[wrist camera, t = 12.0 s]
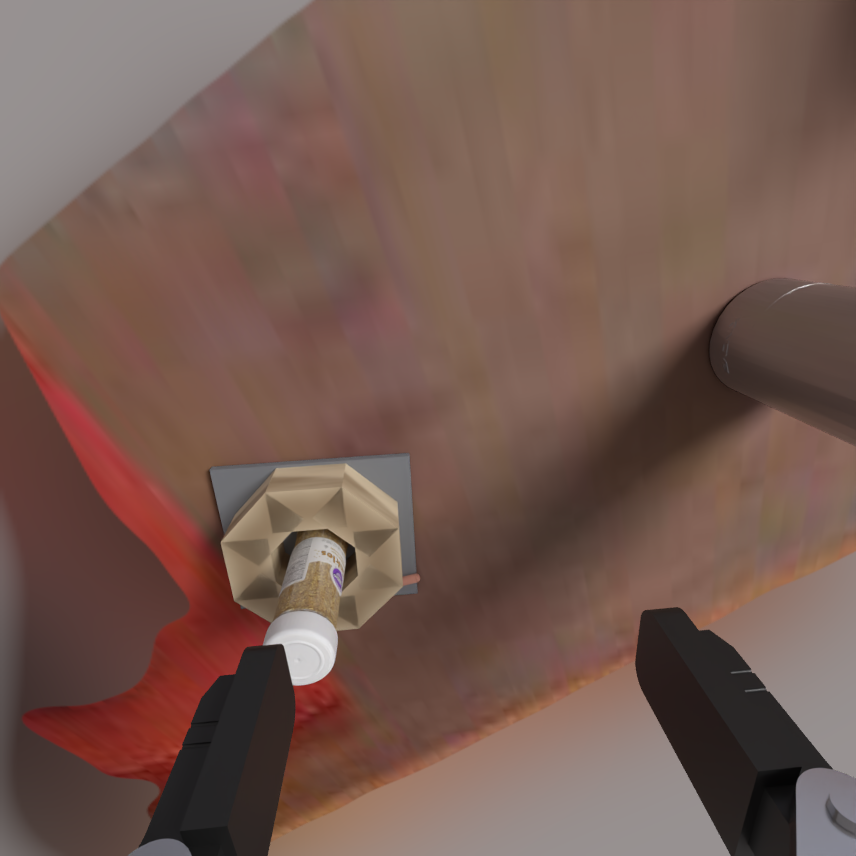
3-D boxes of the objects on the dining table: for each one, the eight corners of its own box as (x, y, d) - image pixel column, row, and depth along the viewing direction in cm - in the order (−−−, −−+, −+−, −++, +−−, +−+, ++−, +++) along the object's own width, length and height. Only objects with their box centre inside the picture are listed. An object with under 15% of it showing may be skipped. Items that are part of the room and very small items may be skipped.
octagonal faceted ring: (394, 459, 41) (395, 482, 37) (403, 592, 46) (405, 624, 42) (225, 471, 40) (209, 496, 36) (254, 605, 45) (243, 639, 41)
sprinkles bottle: (360, 539, 43) (350, 665, 31) (319, 565, 44) (293, 699, 32) (327, 502, 42) (302, 620, 29) (284, 531, 42) (243, 657, 30)
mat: (409, 452, 41) (409, 456, 41) (417, 589, 47) (417, 593, 46) (211, 466, 40) (209, 470, 40) (242, 604, 46) (241, 608, 45)
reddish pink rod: (418, 570, 45) (419, 576, 44) (420, 577, 45) (421, 583, 45) (281, 602, 45) (279, 608, 44) (284, 609, 45) (282, 615, 45)
